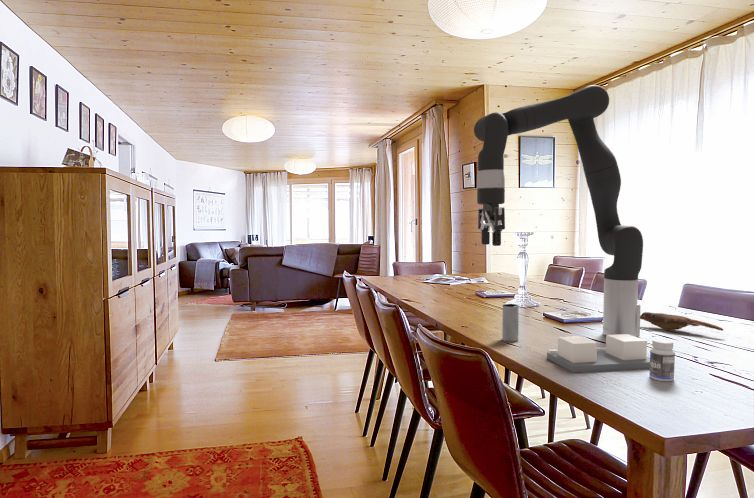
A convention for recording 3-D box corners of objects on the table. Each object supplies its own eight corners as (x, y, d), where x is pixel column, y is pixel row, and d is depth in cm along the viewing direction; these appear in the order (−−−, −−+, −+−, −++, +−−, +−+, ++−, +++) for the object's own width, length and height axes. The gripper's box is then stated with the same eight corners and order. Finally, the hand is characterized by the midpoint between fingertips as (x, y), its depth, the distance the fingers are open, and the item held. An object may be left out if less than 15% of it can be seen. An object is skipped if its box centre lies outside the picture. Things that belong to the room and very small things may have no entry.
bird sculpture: (720, 340, 143) (721, 323, 143) (630, 326, 162) (630, 311, 162) (726, 336, 148) (727, 320, 147) (638, 323, 166) (639, 309, 166)
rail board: (626, 354, 128) (626, 331, 128) (659, 367, 116) (660, 342, 116) (547, 358, 125) (547, 334, 125) (572, 372, 113) (573, 346, 113)
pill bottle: (644, 375, 111) (645, 338, 110) (664, 374, 111) (665, 338, 111) (658, 382, 106) (659, 343, 106) (679, 381, 106) (680, 343, 106)
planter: (518, 338, 146) (519, 304, 145) (517, 342, 142) (518, 306, 141) (503, 337, 147) (503, 303, 147) (501, 341, 143) (502, 305, 142)
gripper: (514, 185, 131) (514, 246, 132) (494, 188, 145) (494, 243, 146) (487, 185, 130) (487, 246, 131) (469, 188, 144) (469, 244, 145)
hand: (490, 245), depth 139 cm, fingers open, 8 cm apart
